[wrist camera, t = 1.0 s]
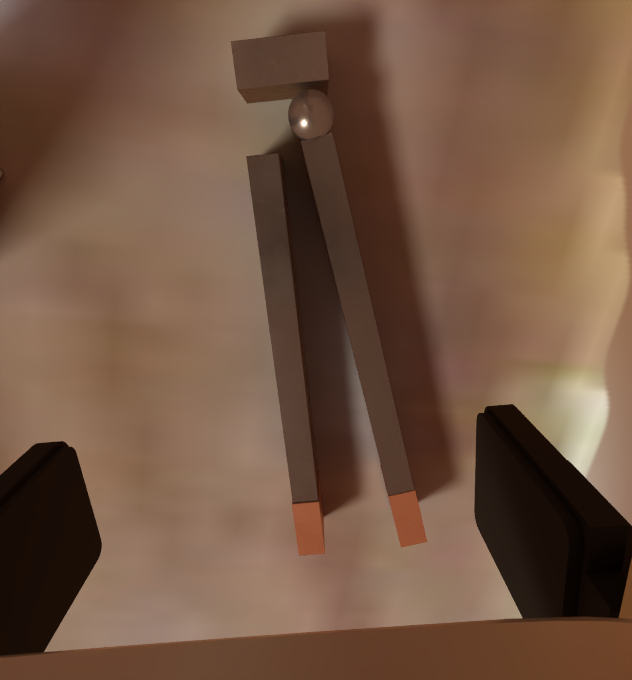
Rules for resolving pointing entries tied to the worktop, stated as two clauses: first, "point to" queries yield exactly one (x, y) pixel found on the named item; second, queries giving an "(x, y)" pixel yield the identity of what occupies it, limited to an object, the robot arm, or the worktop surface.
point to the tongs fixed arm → (285, 259)
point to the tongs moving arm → (356, 304)
